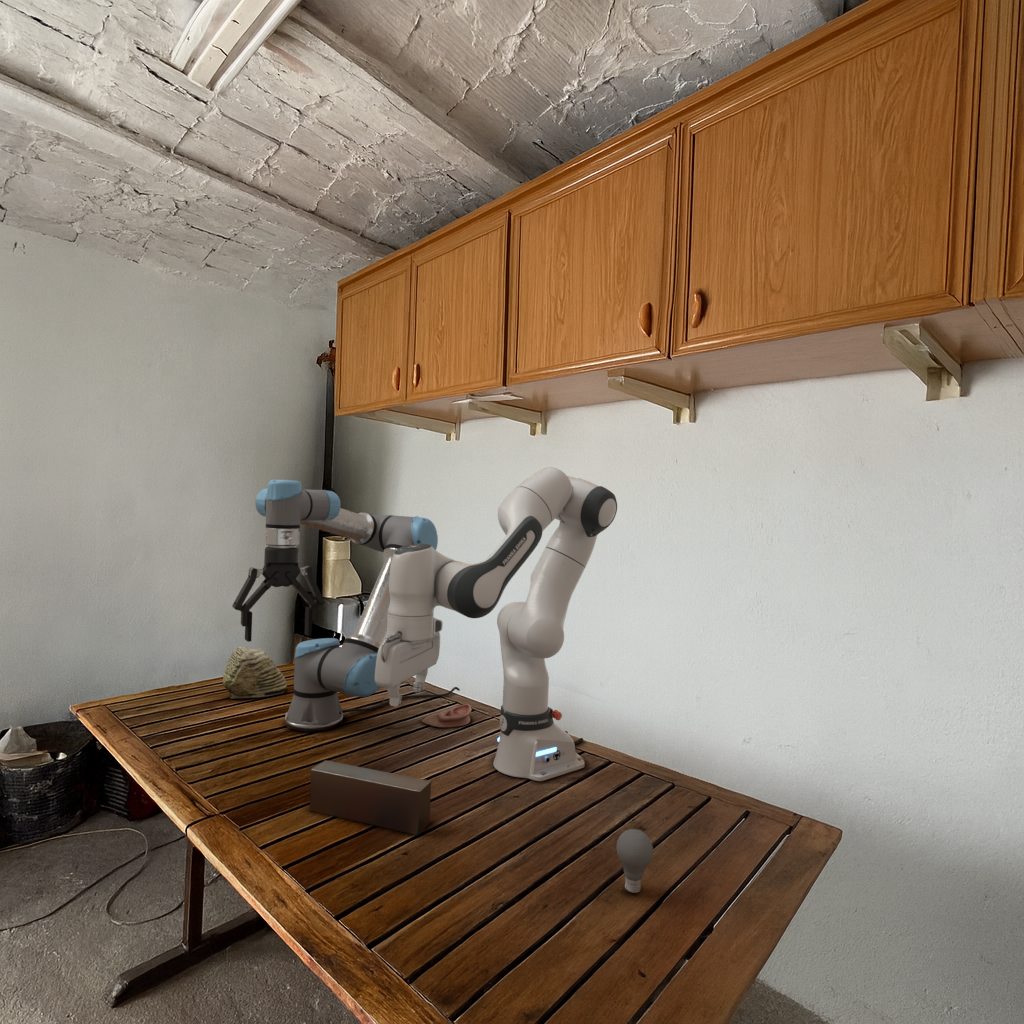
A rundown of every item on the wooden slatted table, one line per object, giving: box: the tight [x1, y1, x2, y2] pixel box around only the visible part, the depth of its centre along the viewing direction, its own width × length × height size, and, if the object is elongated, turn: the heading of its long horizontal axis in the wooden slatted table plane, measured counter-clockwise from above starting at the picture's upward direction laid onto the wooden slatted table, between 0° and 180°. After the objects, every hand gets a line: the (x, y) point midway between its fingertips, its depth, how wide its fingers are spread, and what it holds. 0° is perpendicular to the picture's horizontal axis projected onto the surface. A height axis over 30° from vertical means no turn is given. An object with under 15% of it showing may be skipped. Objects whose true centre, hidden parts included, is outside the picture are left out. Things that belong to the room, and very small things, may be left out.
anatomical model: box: [421, 703, 472, 728], centre depth 182 cm, size 13×4×12 cm
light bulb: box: [615, 828, 654, 894], centre depth 106 cm, size 6×6×10 cm
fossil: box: [222, 646, 288, 699], centre depth 198 cm, size 9×18×15 cm, turn 132°
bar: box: [309, 760, 432, 836], centre depth 126 cm, size 24×5×8 cm, turn 72°
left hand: (278, 637), depth 147 cm, fingers open, 13 cm apart
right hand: (407, 698), depth 123 cm, fingers open, 8 cm apart
